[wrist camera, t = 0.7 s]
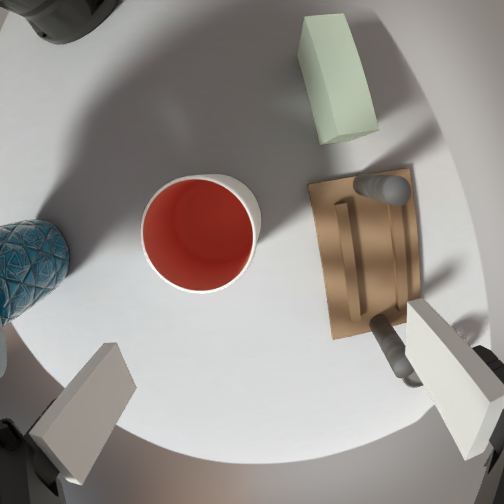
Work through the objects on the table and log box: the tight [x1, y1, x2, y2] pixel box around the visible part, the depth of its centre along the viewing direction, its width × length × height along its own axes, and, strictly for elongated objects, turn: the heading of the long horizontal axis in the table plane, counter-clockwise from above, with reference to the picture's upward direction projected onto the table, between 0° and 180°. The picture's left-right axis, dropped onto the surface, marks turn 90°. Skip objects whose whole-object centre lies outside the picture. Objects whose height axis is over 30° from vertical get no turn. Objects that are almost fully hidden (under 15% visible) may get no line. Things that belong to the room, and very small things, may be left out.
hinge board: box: [308, 168, 420, 378], centre depth 29 cm, size 19×12×11 cm, turn 12°
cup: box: [140, 174, 261, 293], centre depth 30 cm, size 10×10×10 cm
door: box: [297, 13, 379, 145], centre depth 25 cm, size 11×4×10 cm, turn 12°
